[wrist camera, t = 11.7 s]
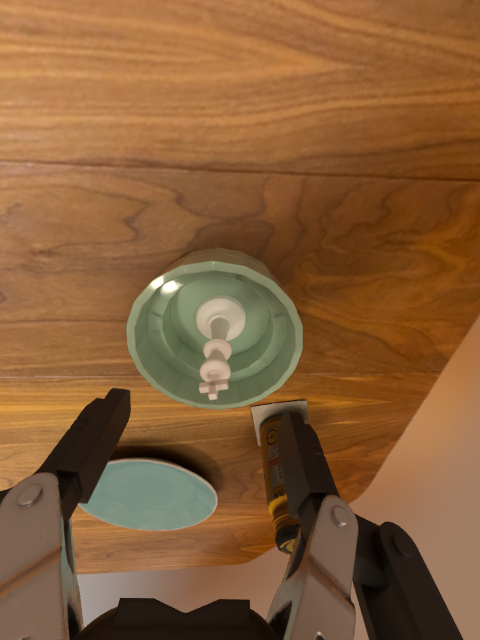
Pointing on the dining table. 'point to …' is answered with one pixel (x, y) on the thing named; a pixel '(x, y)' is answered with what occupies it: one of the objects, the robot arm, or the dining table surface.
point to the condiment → (277, 469)
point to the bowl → (188, 342)
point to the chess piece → (218, 339)
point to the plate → (151, 495)
